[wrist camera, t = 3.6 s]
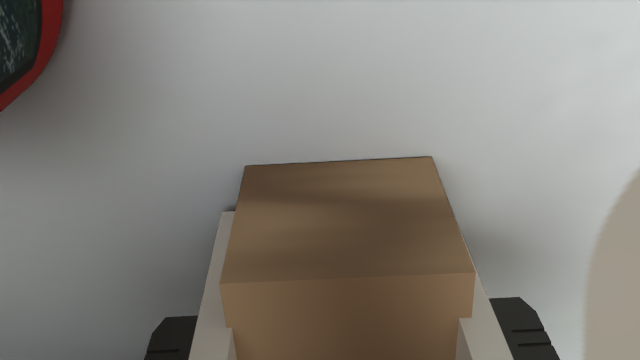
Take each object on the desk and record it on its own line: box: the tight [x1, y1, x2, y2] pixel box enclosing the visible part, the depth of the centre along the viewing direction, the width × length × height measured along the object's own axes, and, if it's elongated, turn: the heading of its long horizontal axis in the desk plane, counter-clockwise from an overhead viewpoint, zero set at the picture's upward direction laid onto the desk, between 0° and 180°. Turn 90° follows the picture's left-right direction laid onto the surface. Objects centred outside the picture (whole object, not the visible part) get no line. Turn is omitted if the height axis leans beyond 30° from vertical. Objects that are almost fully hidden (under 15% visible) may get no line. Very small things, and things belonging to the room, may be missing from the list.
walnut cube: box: [219, 157, 476, 360], centre depth 15 cm, size 5×5×5 cm
